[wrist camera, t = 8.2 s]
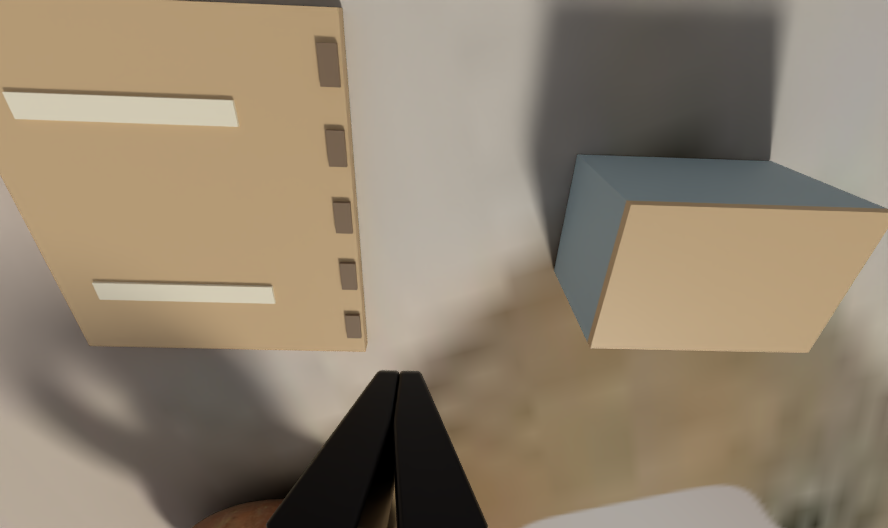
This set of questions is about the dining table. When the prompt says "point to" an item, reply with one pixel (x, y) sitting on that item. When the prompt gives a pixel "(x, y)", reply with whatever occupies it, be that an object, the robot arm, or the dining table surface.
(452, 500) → the robot arm
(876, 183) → the dining table surface
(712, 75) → the dining table surface
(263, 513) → the ceramic jug
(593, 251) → the stub
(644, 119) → the dining table surface
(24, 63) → the pad
